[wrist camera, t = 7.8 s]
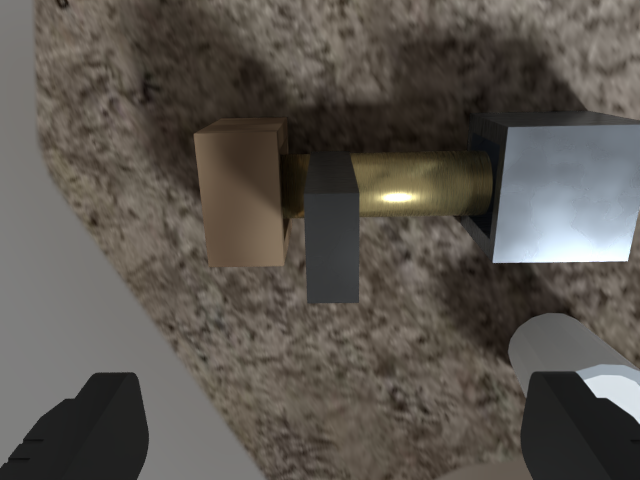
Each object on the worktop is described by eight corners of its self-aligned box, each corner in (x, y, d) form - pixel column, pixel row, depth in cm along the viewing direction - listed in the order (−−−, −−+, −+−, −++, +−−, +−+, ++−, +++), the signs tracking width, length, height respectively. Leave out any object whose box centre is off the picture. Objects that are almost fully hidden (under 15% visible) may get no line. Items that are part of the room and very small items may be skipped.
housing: (588, 110, 28) (658, 124, 22) (569, 221, 31) (627, 260, 25) (470, 113, 29) (508, 127, 23) (460, 223, 31) (492, 263, 25)
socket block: (287, 117, 29) (276, 131, 23) (292, 226, 31) (283, 266, 25) (221, 118, 29) (193, 133, 23) (231, 227, 31) (208, 267, 25)
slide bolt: (475, 138, 28) (571, 189, 17) (469, 211, 29) (553, 300, 18) (253, 143, 28) (206, 195, 17) (258, 214, 29) (218, 304, 19)
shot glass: (574, 287, 33) (637, 345, 26) (610, 360, 35) (676, 430, 28) (483, 333, 34) (520, 398, 27) (522, 400, 36) (566, 476, 29)
